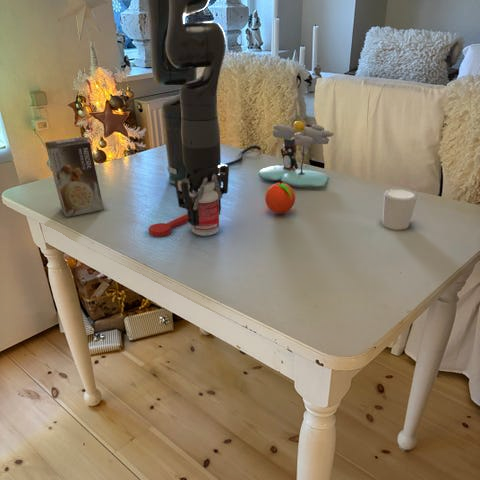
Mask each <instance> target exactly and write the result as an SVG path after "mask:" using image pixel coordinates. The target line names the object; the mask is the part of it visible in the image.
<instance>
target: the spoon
mask: <svg viewBox="0 0 480 480" xmlns="http://www.w3.org/2000/svg"><path fill="white" fill-rule="evenodd" d="M185 223H189V222H188V213H186V214H184V215H182V216H179V217H177V218H175V219H173V220H171V221H168V222H157V223H153V224H151V225H150V226H149V227H148V233H149V235H150V236H151V237H154V238H163V237H167V236H170V234H171V233H172V230H173V229H176V228H177V227H179V226H181V225H184V224H185Z"/></svg>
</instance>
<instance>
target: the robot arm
mask: <svg viewBox="0 0 480 480" xmlns="http://www.w3.org/2000/svg"><path fill="white" fill-rule="evenodd" d="M146 2H147V3H146V4H147V10H148V20H149V22H148V23H149V42H150V64H151V65H150V66H151V73H152V77H153V80H154V82H155V83H156V85H158V86H161V87H176V86H177V87H178V86H179V87H180V88H179V94H177V95H176V96H174V97H172V98H170V99H167V100H165V101H164V102H163V103H162V105H161V112H162V120H163V131H164V138H165V139H164V140H165V141H164V142H165V148H166V150H165V151H166V158H167V160H166V161H167V166H166V167H167V172H168V181H169V183H170V184H171V185H173V186H175V193H176V198H177V203H178V207H179V208H182V209H184V210H186V211H187V213H186V214H188V222H187V223H188V224H190V226H191V225H193V226H198V225H199V216H198V209H197V208H198V204H199V200H201V199H202V196H203V193H204V186H206V185H207V183H208V182H210V181H211V182H214V185H215V187H214V189H213V190H215V191H216V192H217V193H218V202H219V216H220V215H221V211H222V203H221V201H222V198H223V195H226V194H227V193H228V190H229V177H230V176H229V174H230V166H233V165H235V164H237V163H240V162H241V161H242V160H243V154H245V153H247V152H248V151H250V150H253V149H256V150H258V151H261V150H262V148H261V146H259V145H255V144H254V145H250V146H248V147H247V148H245V149H243V150H241V151H240V152H239V153H238V158H237V159H235V160H232V161H229V162H225V163H222V160H221V158H222V157H221V129H220V128H221V127H220V121H219V106H218V105H219V104H218V103H219V102H218V101H219V100H218V94H219V93H218V91H219V83H220V78H221V73H222V68H223V65H224V60H225V55H226V49H227V38H226V35H225V32H224V30H223V28H222V26H221V25H220V24H219V23H217V22H214V21H201V22H200V21H198V22H197V21H196V22H185V17H187V16H189V15H191V14H195V13H197V12H200V11H202V10H204V9H205V8H206V7H207V6H208V5H209V2H210V0H146ZM202 68H204V69H203V72H202V74H201V75H200V76H199V77H198V69H202ZM193 190H194V191H196V192H198V193H197V194H194V193H193ZM192 197H193V198H194V201H193V203H192Z"/></svg>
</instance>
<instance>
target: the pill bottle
mask: <svg viewBox="0 0 480 480" xmlns="http://www.w3.org/2000/svg"><path fill="white" fill-rule="evenodd" d="M214 187H215V185H214V182H211V181H210V182H208V183H207V185H206V186H204V193H203V196H202V199H201V200H199V204H198V208H197V209H198V216H199V225H198V226H193V225H191V224H190V228H191V232H192V233H193V234H194V235H197V236H202V237H208V236H212V235H215V234H217V233H218V232H219V231H220V215H219V202H218V193H217V192H216V191H215V190H213V189H214ZM193 193H194V194H197V193H198V192H196V191H194V190H193ZM193 201H194V198H193V197H192V203H193Z"/></svg>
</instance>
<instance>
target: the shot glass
mask: <svg viewBox="0 0 480 480" xmlns="http://www.w3.org/2000/svg"><path fill="white" fill-rule="evenodd" d="M417 199H418V193H416V192H415V191H413V190H409V189H405V188H390V189H387V190H385V191H384V193H383V207H382V209H383V210H382V225H383V226H384V227H385V228H388V229H390V230H399V231H400V230H405V229H408V228H409V227H410V224H411V220H412V217H413V213H414V210H415V206H416V203H417Z"/></svg>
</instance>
